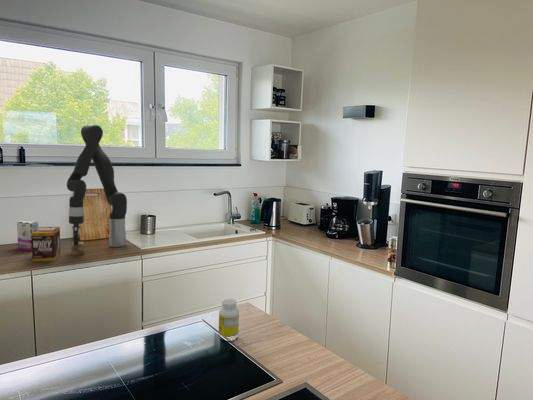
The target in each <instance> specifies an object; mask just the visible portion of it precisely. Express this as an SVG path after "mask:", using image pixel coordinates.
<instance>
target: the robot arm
mask: <svg viewBox="0 0 533 400" xmlns="http://www.w3.org/2000/svg"><path fill="white" fill-rule="evenodd" d="M80 134H81V138H82V140H83V141H84V144H85V146H84V148H83V150H82V152H80V154H79V155H78V158H77V159H76V162H75V166H74V168H73V171H72V173H71V174H70V176H69V178H68V179H67V182H66V188H67V190H68V191H70V192H74V193H73V195H72V196H70V197H69V201H68V202H69V205H68V206H69V208H68V223H69V224H71V225H72V227H71V228H72V238H73V242H74V245H78V242H80V241H79V240H80V236H79V235H80V233H81V225H82V224H84V218H85V216H84V215H85V210H84V198H85V194H86V193H87V192H86V191H87V184H86V182H85V181H84V180H82V178H83V177H86V176H87V175H88V172H89V169H90V165H91V162H92V163H93V164H94V168H95V171H96V172H97V173H96V174H97V176H98V177H99V181H100V183H101V185H102V187H103V191H104V195H105V200H106V202H107V204H108V205H110V206H111V208H112V209H111V212H110V213H108V214H109V215H108V216H109V217H108V220H109V222H108V223H109V224H108V225H109V228H108V229H109V232H108V233H109V240H108V241H109V247H112V248H122V247H126V245H127V244H126V243H127V241H126V240H127V239H126V238H127V237H126V236H127V234H126V233H127V232H126V214H127V211H128V199H127V196H126V195H125V194H124V193H122V192H119V191H118V189H117V186H116V183H115V171H114V170H115V169H114V167H113V164H112V161H111V159H110V158H109V156H108V155H107V154H106V153H105V151H104V150H103V149H102V148H101V146H100V142H101V140H102V138H103V137H104V131H103V128H102V127H101V126H100V125H98V124H86V125H83V126H82V127H81V129H80Z"/></svg>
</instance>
